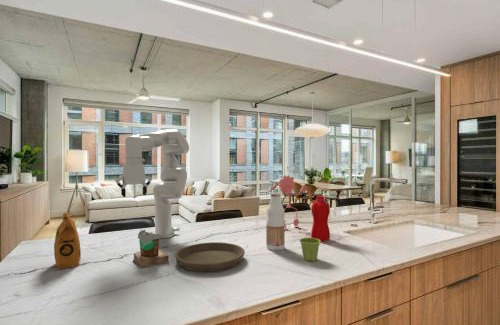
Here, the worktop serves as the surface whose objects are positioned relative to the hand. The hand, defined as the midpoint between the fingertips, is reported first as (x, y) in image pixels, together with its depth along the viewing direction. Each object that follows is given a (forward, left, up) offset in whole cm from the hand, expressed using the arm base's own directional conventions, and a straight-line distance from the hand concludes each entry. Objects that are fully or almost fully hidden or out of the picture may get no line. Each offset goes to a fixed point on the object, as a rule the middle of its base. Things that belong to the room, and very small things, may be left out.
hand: (134, 195), depth 144 cm
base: (-3, +18, -28) cm, 33 cm away
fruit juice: (-61, +36, -28) cm, 76 cm away
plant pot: (-63, +58, -28) cm, 90 cm away
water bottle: (-92, +40, -28) cm, 104 cm away
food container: (0, +19, -25) cm, 31 cm away
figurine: (-97, +6, -28) cm, 101 cm away
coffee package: (+28, +1, -28) cm, 40 cm away
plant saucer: (-25, +33, -28) cm, 50 cm away
